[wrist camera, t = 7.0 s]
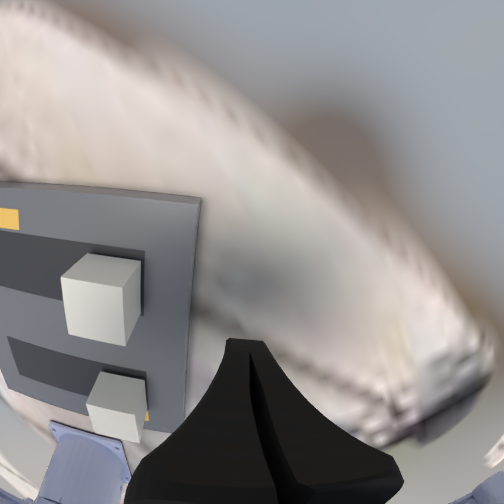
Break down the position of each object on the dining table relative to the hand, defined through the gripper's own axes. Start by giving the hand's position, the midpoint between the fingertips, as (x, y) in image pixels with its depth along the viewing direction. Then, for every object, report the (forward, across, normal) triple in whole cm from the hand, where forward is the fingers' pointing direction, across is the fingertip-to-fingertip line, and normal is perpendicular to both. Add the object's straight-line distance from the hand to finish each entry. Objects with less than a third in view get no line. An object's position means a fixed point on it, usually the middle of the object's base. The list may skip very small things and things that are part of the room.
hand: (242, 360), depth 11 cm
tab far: (+5, +6, +8) cm, 11 cm away
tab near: (+5, +7, 0) cm, 8 cm away
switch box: (+7, +10, +4) cm, 13 cm away
